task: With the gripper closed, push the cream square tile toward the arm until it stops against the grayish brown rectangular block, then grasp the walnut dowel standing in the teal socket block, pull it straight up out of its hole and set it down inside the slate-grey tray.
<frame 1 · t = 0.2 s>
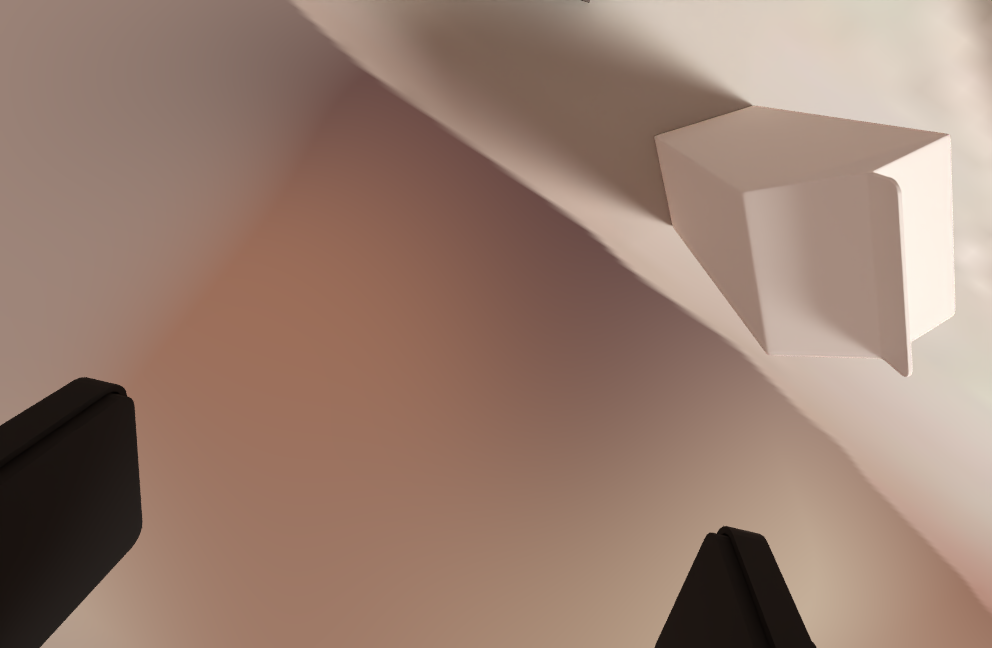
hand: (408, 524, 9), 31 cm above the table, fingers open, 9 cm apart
milk: (710, 168, 36), on the table
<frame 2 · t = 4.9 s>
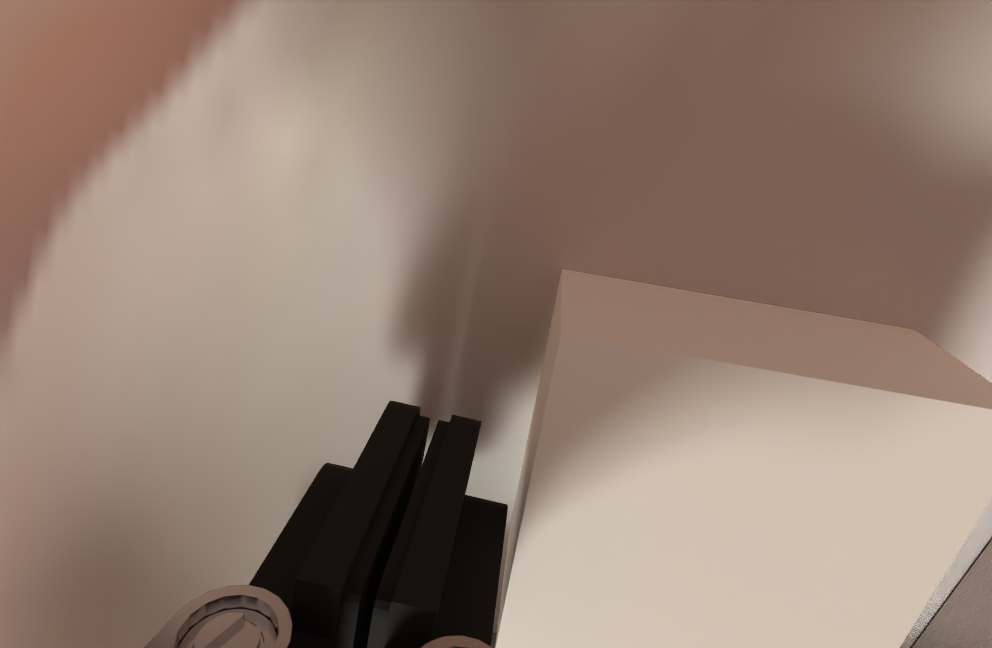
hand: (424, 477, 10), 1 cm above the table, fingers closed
cream square tile: (685, 437, 11), on the table
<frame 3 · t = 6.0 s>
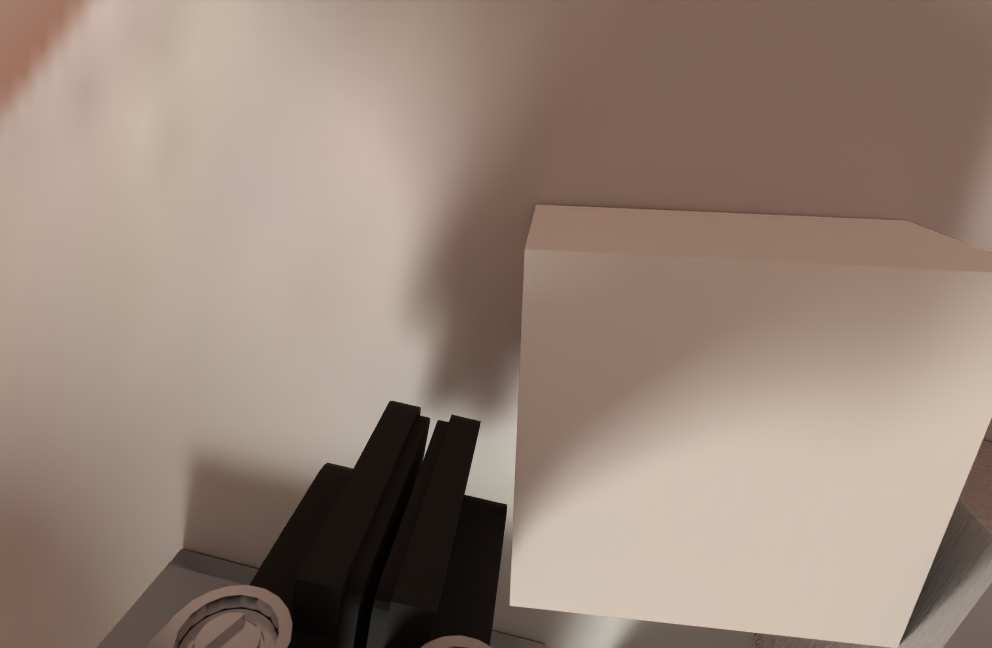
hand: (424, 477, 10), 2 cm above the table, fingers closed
cream square tile: (688, 372, 11), on the table, touching grayish brown rectangular block, gripper
grayish brown rectangular block: (882, 555, 12), on the table
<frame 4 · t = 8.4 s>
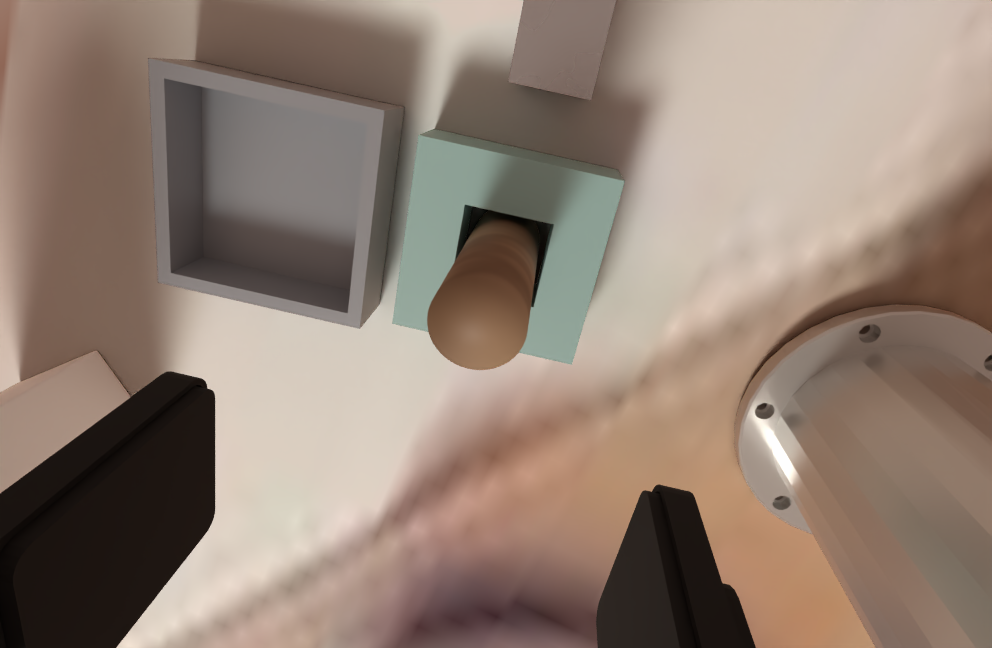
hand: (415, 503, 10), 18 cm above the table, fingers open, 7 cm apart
socket block: (506, 238, 26), on the table
tray: (293, 190, 26), on the table
milk: (93, 408, 33), on the table
grayish brown rectangular block: (569, 7, 22), on the table
dowel: (495, 272, 21), in the socket block
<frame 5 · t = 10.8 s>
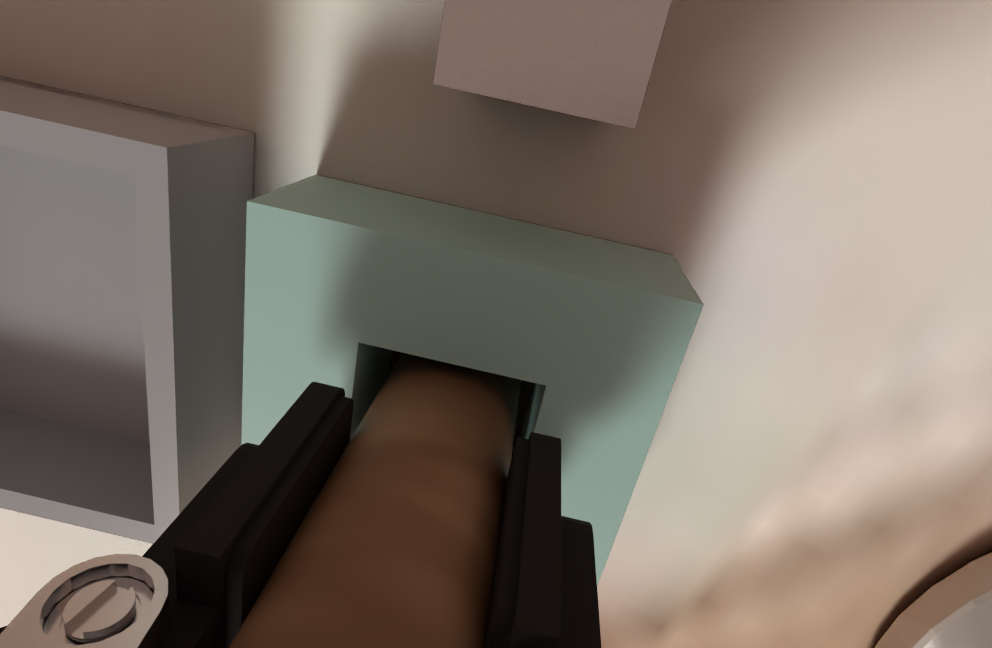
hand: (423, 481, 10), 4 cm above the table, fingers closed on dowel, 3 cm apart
socket block: (461, 372, 14), on the table
tray: (71, 282, 14), on the table
dowel: (413, 511, 10), in the socket block, touching gripper
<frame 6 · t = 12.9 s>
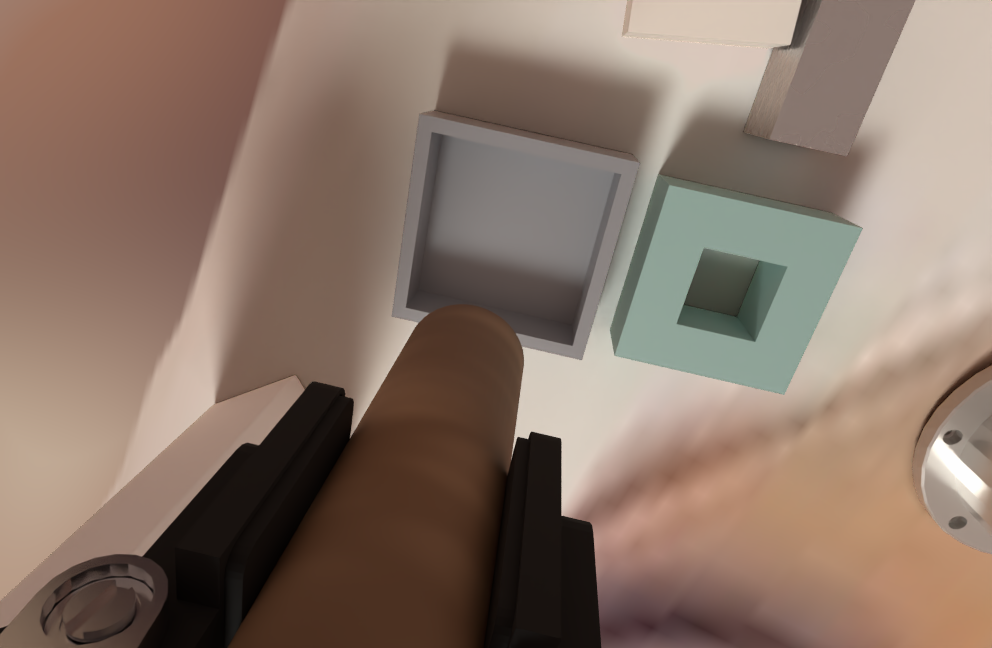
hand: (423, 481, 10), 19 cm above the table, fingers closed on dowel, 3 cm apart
socket block: (713, 275, 28), on the table
tray: (512, 229, 28), on the table
milk: (281, 428, 34), on the table
grayish brown rectangular block: (805, 65, 24), on the table
dowel: (421, 486, 10), point 19 cm above the table, touching gripper
when the fingers open (6 cm above the table, at t = 15.5 s): dowel stays where it is, resting on tray.
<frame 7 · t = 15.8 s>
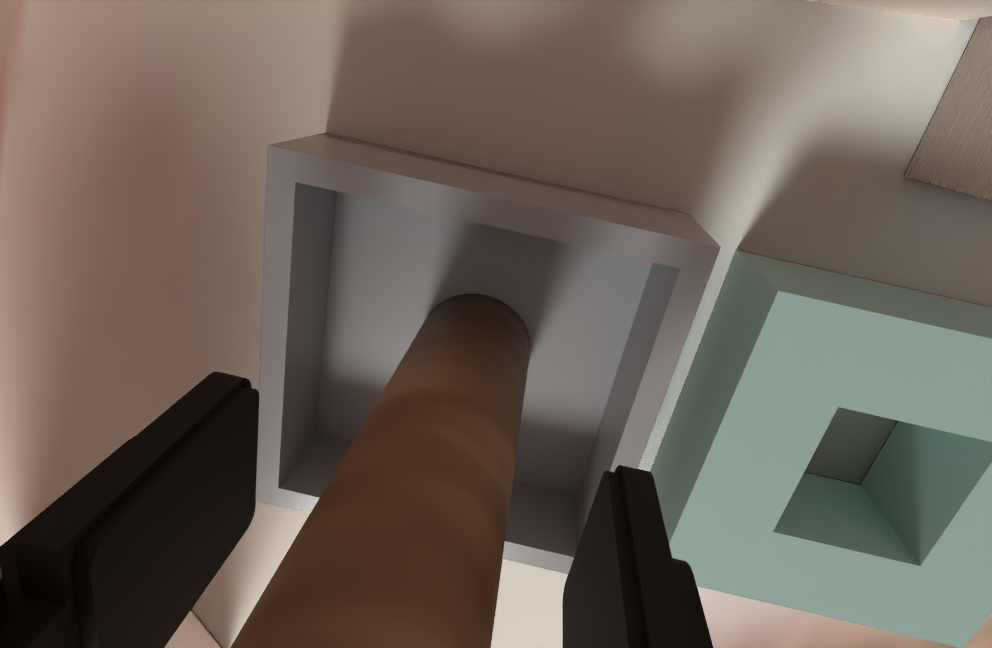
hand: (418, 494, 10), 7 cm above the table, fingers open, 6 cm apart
socket block: (825, 419, 16), on the table
tray: (472, 338, 16), on the table
milk: (129, 612, 22), on the table
dowel: (436, 456, 11), in the tray
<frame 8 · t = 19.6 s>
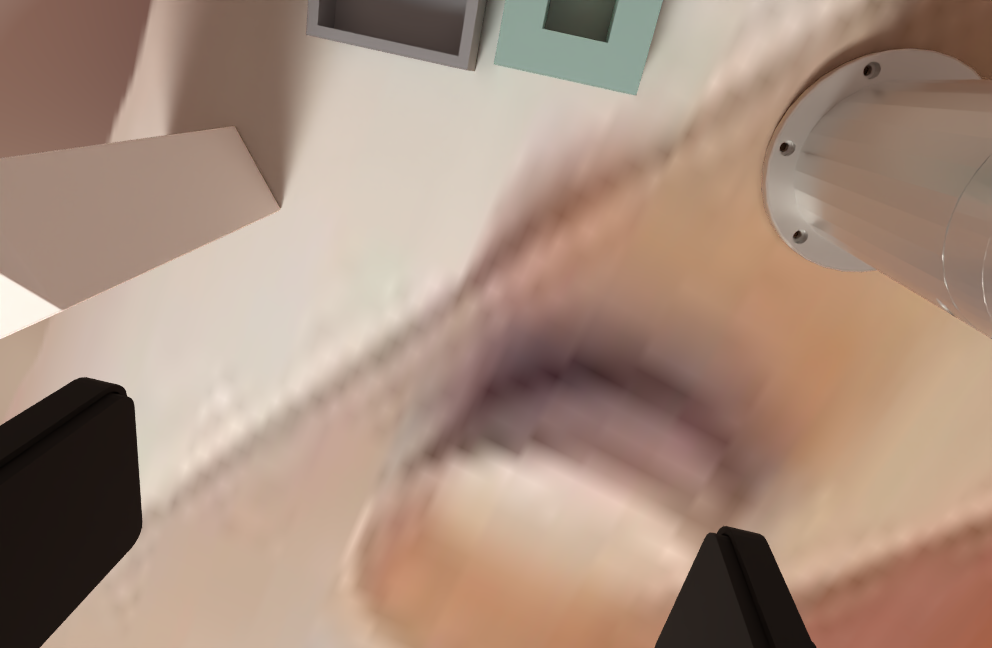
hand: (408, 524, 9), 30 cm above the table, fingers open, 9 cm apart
socket block: (581, 4, 33), on the table
milk: (225, 185, 39), on the table
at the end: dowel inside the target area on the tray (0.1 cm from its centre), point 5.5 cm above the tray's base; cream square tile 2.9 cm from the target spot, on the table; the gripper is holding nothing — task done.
